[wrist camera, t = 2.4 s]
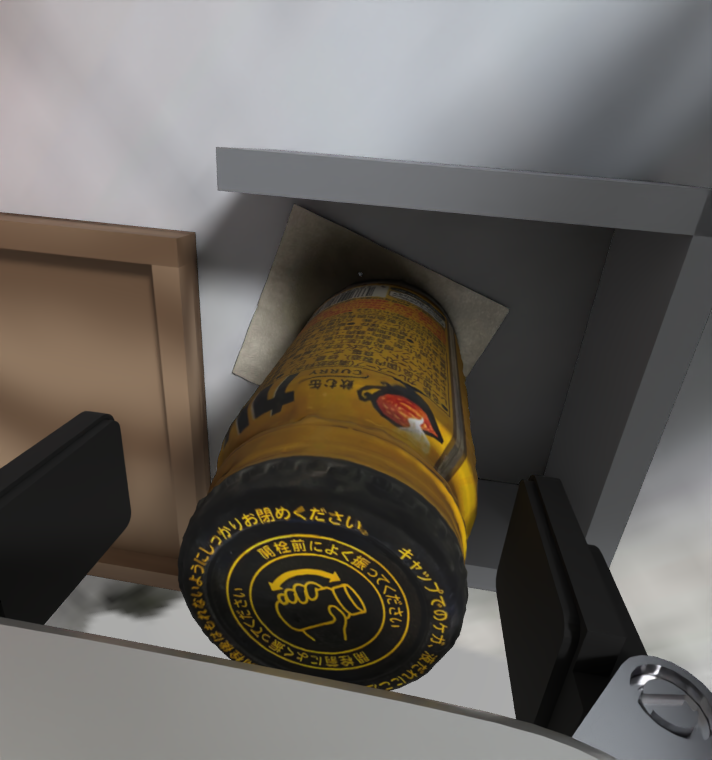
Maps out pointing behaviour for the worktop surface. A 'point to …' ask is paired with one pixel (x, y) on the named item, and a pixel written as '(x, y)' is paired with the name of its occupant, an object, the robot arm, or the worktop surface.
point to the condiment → (344, 468)
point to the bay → (605, 325)
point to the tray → (110, 366)
